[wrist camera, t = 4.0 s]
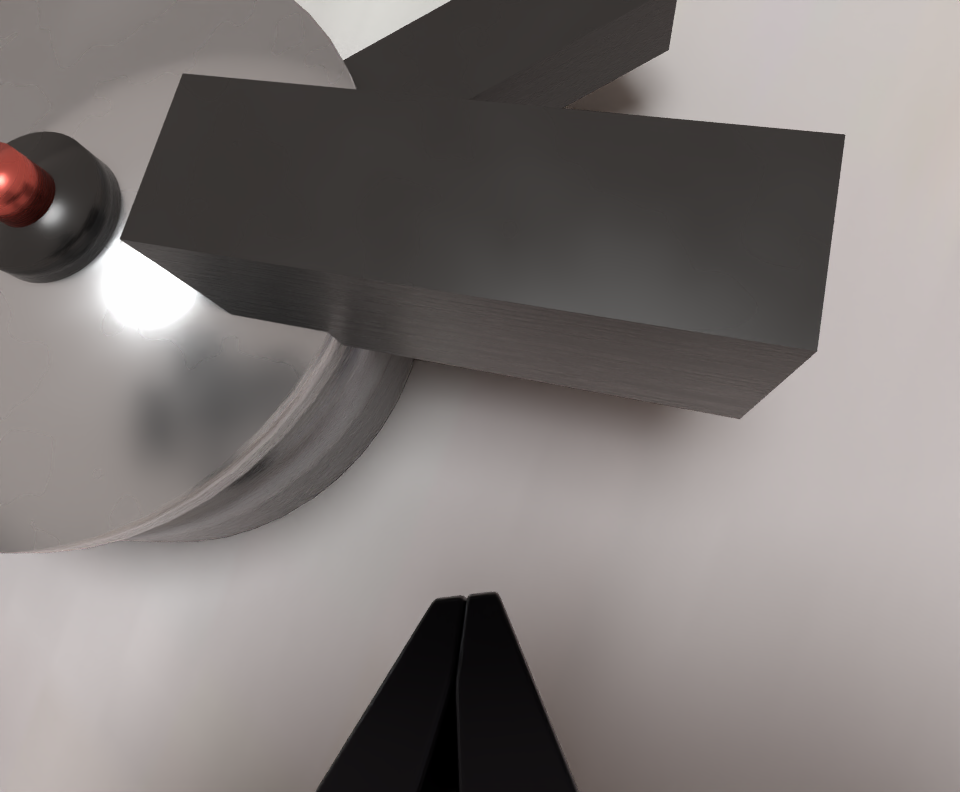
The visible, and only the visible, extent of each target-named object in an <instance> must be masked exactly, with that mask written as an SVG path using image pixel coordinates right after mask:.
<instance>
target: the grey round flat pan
mask: <svg viewBox="0 0 960 792" xmlns="http://www.w3.org/2000/svg"><path fill="white" fill-rule="evenodd" d="M676 2H677V0H451V1H449V2H448V3H446V4H444V5H442V6H440V7H439V8H437V9H435V10H433V11H431V12H430V13H428V14H426V15H424V16H422V17H421V18H419V19H417V20H415V21H413V22H412V23H410V24H408V25H406V26H404V27H403V28H401V29H399V30H397V31H395V32H394V33H392V34H390V35H388V36H386V37H385V38H383V39H381V40H379V41H377V42H376V43H374V44H372V45H370V46H368V47H367V48H365V49H363V50H361V51H359V52H358V53H356V54H354V55H352V56H350V57H349V58H347V59H345V60H343V62H344V64H345V65H346V67H347V69H348V71H349V73H350V75H351V77H352V79H353V81H354V83H355V85H356V87H357V89H358V90H369V91H380V92H391V93H401V94H412V95H423V96H434V97H445V98H455V99H466V100H477V101H488V102H499V103H509V104H520V105H531V106H542V107H553V108H563V107H565V106H567V105H569V104H571V103H572V102H574V101H576V100H578V99H580V98H582V97H583V96H585V95H587V94H589V93H591V92H593V91H594V90H596V89H598V88H600V87H602V86H604V85H605V84H607V83H609V82H611V81H613V80H615V79H616V78H618V77H620V76H622V75H624V74H626V73H627V72H629V71H631V70H633V69H635V68H637V67H638V66H640V65H642V64H644V63H646V62H648V61H649V60H651V59H653V58H655V57H657V56H659V55H660V54H662V53H664V52H666V51H668V50H669V45H670V38H671V32H672V26H673V20H674V14H675V8H676ZM413 361H414V358H409V357H404V356H398V355H393V354H387V353H382V352H377V351H371V350H366V349H361V348H355V347H350V346H347V348H346V350H345V352H344V354H343V356H342V358H341V360H340V362H339V364H338V365H337V367H336V369H335V370H334V372H333V373H332V375H331V376H330V378H329V379H328V381H327V382H326V384H325V385H324V387H323V388H322V390H321V391H320V393H319V394H318V396H317V397H316V399H315V400H314V402H313V403H312V405H311V406H310V407H309V408H308V409H307V410H306V412H305V413H304V414H303V415H302V416H301V418H300V419H299V420H298V421H297V422H296V423H295V425H294V426H293V427H292V428H291V429H290V431H289V432H288V433H287V434H286V435H285V436H284V438H283V439H282V440H281V441H280V442H279V443H278V444H277V445H275V446H274V447H273V448H272V449H271V450H270V451H269V452H268V453H267V454H266V455H265V456H264V457H263V458H262V459H261V460H259V461H258V462H257V463H256V464H255V465H254V466H253V467H252V468H251V469H250V470H249V471H248V472H246V473H245V474H244V475H242V476H241V477H239V478H238V479H237V480H235V481H234V482H233V483H231V484H230V485H229V486H227V487H226V488H224V489H223V490H222V491H220V492H219V493H218V494H216V495H215V496H214V497H212V498H211V499H209V500H208V501H206V502H204V503H202V504H200V505H199V506H197V507H195V508H193V509H191V510H190V511H188V512H186V513H184V514H183V515H181V516H179V517H177V518H175V519H174V520H172V521H170V522H168V523H165V524H163V525H160V526H158V527H155V528H153V529H150V530H148V531H145V532H143V533H140V534H138V535H135V536H133V537H130V538H127V539H123V540H119V541H151V542H197V541H204V540H210V539H217V538H223V537H228V536H232V535H235V534H238V533H242V532H245V531H248V530H252V529H255V528H258V527H260V526H262V525H264V524H266V523H269V522H271V521H273V520H275V519H278V518H280V517H282V516H284V515H286V514H288V513H289V512H291V511H293V510H294V509H296V508H298V507H299V506H301V505H302V504H304V503H306V502H307V501H309V500H311V499H312V498H314V497H315V496H316V495H317V494H319V493H320V492H321V491H322V490H324V489H325V488H326V487H327V486H329V485H330V484H331V483H332V482H334V481H335V480H336V479H337V478H339V477H340V476H341V475H342V474H343V473H344V472H345V471H346V470H347V468H348V467H349V466H350V465H351V464H352V463H353V462H354V461H355V460H356V459H357V458H358V457H359V456H360V455H361V454H362V453H363V452H364V450H365V449H366V448H367V446H368V445H369V444H370V442H371V441H372V440H373V439H374V437H375V436H376V435H377V433H378V432H379V431H380V429H381V428H382V426H383V425H384V423H385V421H386V420H387V418H388V416H389V415H390V413H391V411H392V409H393V408H394V406H395V404H396V403H397V401H398V399H399V397H400V394H401V392H402V390H403V387H404V385H405V383H406V380H407V378H408V376H409V374H410V371H411V368H412V365H413Z"/></svg>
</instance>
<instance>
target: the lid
mask: <svg viewBox="0 0 960 792" xmlns="http://www.w3.org/2000/svg"><path fill="white" fill-rule="evenodd" d="M844 140H845V135H844V134H833V133H823V132H812V131H801V130H790V129H779V128H769V127H758V126H747V125H736V124H725V123H715V122H704V121H693V120H682V119H671V118H661V117H650V116H639V115H628V114H617V113H607V112H596V111H585V110H574V109H563V108H553V107H542V106H531V105H520V104H509V103H499V102H488V101H477V100H466V99H455V98H445V97H434V96H423V95H412V94H401V93H391V92H380V91H369V90H358V89H357V87H356V85H355V83H354V81H353V79H352V77H351V75H350V73H349V71H348V69H347V67H346V65H345V64H344V62H343V60H342V58H341V57H340V55H339V53H338V52H337V50H336V48H335V46H334V45H333V43H332V41H331V39H330V38H329V37H328V36H327V34H326V33H325V32H324V31H323V30H322V28H321V27H320V26H319V25H318V24H317V22H316V21H315V20H314V19H313V18H312V16H311V15H310V14H309V13H308V12H307V11H306V10H305V9H303V8H302V7H301V6H300V5H299V4H298V3H296V2H295V1H294V0H0V553H52V552H61V551H70V550H80V549H88V548H92V547H96V546H100V545H104V544H108V543H112V542H116V541H119V540H123V539H127V538H130V537H133V536H135V535H138V534H140V533H143V532H145V531H148V530H150V529H153V528H155V527H158V526H160V525H163V524H165V523H168V522H170V521H172V520H174V519H175V518H177V517H179V516H181V515H183V514H184V513H186V512H188V511H190V510H191V509H193V508H195V507H197V506H199V505H200V504H202V503H204V502H206V501H208V500H209V499H211V498H212V497H214V496H215V495H216V494H218V493H219V492H220V491H222V490H223V489H224V488H226V487H227V486H229V485H230V484H231V483H233V482H234V481H235V480H237V479H238V478H239V477H241V476H242V475H244V474H245V473H246V472H248V471H249V470H250V469H251V468H252V467H253V466H254V465H255V464H256V463H257V462H258V461H259V460H261V459H262V458H263V457H264V456H265V455H266V454H267V453H268V452H269V451H270V450H271V449H272V448H273V447H274V446H275V445H277V444H278V443H279V442H280V441H281V440H282V439H283V438H284V436H285V435H286V434H287V433H288V432H289V431H290V429H291V428H292V427H293V426H294V425H295V423H296V422H297V421H298V420H299V419H300V418H301V416H302V415H303V414H304V413H305V412H306V410H307V409H308V408H309V407H310V406H311V405H312V403H313V402H314V400H315V399H316V397H317V396H318V394H319V393H320V391H321V390H322V388H323V387H324V385H325V384H326V382H327V381H328V379H329V378H330V376H331V375H332V373H333V372H334V370H335V369H336V367H337V365H338V364H339V362H340V360H341V358H342V356H343V354H344V352H345V350H346V348H347V346H350V347H355V348H361V349H366V350H371V351H377V352H382V353H387V354H393V355H398V356H404V357H409V358H414V359H420V360H425V361H430V362H436V363H441V364H447V365H452V366H457V367H463V368H468V369H473V370H479V371H484V372H490V373H495V374H500V375H506V376H511V377H516V378H522V379H527V380H533V381H538V382H543V383H549V384H554V385H559V386H565V387H570V388H576V389H581V390H586V391H592V392H597V393H602V394H608V395H613V396H619V397H624V398H629V399H635V400H640V401H645V402H651V403H656V404H662V405H667V406H672V407H678V408H683V409H688V410H694V411H699V412H705V413H710V414H715V415H721V416H726V417H731V418H737V419H740V418H741V417H743V416H744V415H745V414H746V413H747V412H748V411H749V410H751V409H752V408H753V407H754V406H755V405H756V404H757V403H759V402H760V401H761V400H762V399H763V398H764V397H765V396H767V395H768V394H769V393H770V392H771V391H772V390H773V389H774V388H776V387H777V386H778V385H779V384H780V383H781V382H782V381H784V380H785V379H786V378H787V377H788V376H789V375H790V374H792V373H793V372H794V371H795V370H796V369H797V368H798V367H800V366H801V365H802V364H803V363H804V362H805V361H806V360H808V359H809V358H810V357H811V356H812V355H813V354H814V353H816V352H817V347H818V340H819V332H820V324H821V317H822V309H823V301H824V294H825V286H826V278H827V271H828V263H829V255H830V248H831V240H832V232H833V225H834V217H835V209H836V202H837V194H838V186H839V179H840V171H841V163H842V156H843V148H844Z"/></svg>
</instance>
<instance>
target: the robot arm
mask: <svg viewBox="0 0 960 792" xmlns="http://www.w3.org/2000/svg"><path fill="white" fill-rule="evenodd" d="M316 792H579V791H578V788H577V786H576V783H575V781H574V778H573V776H572V773H571V771H570V768H569V766H568V763H567V761H566V758H565V756H564V753H563V751H562V749H561V746H560V744H559V741H558V739H557V736H556V734H555V731H554V729H553V726H552V724H551V721H550V719H549V716H548V714H547V711H546V709H545V706H544V704H543V702H542V699H541V697H540V694H539V692H538V689H537V687H536V684H535V682H534V679H533V677H532V674H531V672H530V669H529V667H528V664H527V662H526V659H525V657H524V655H523V652H522V650H521V647H520V645H519V642H518V640H517V637H516V635H515V632H514V630H513V627H512V625H511V622H510V620H509V617H508V615H507V612H506V610H505V608H504V605H503V603H502V600H501V598H500V596H499V594H498V593H497V592H486V593H477V594H471V595H469V596H468V598H466V597H464V596H461V595H459V596H451V597H442V598H437V599H436V600H434V601H433V602H432V604H431V605H430V607H429V608H428V610H427V612H426V613H425V615H424V616H423V618H422V620H421V621H420V623H419V625H418V626H417V628H416V629H415V631H414V633H413V634H412V636H411V638H410V639H409V641H408V642H407V644H406V646H405V647H404V649H403V651H402V652H401V654H400V655H399V657H398V659H397V660H396V662H395V663H394V665H393V667H392V668H391V670H390V672H389V673H388V675H387V676H386V678H385V680H384V681H383V683H382V685H381V686H380V688H379V689H378V691H377V693H376V694H375V696H374V698H373V699H372V701H371V702H370V704H369V706H368V707H367V709H366V711H365V712H364V714H363V715H362V717H361V719H360V720H359V722H358V723H357V725H356V727H355V728H354V730H353V732H352V733H351V735H350V736H349V738H348V740H347V741H346V743H345V745H344V746H343V748H342V749H341V751H340V753H339V754H338V756H337V758H336V759H335V761H334V762H333V764H332V766H331V767H330V769H329V771H328V772H327V774H326V775H325V777H324V779H323V780H322V782H321V783H320V785H319V787H318V788H317V790H316Z"/></svg>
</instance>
